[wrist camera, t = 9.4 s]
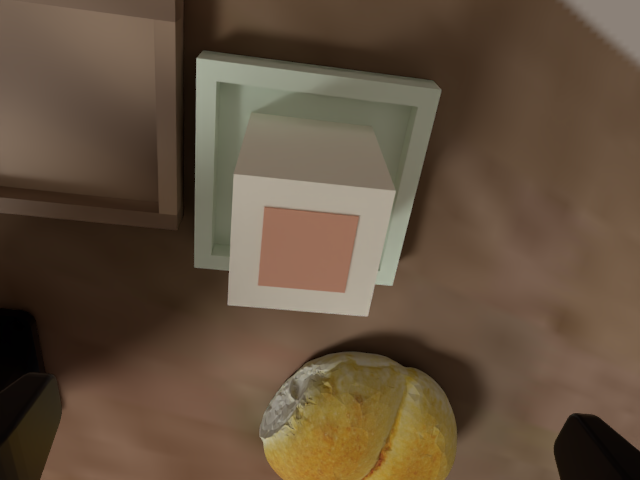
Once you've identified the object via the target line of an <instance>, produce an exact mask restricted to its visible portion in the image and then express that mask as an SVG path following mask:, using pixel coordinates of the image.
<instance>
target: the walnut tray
mask: <svg viewBox="0 0 640 480" xmlns="http://www.w3.org/2000/svg"><path fill="white" fill-rule="evenodd" d="M0 213H5V214H16V215H26V216H36V217H46V218H56V219H66V220H77V221H87V222H97V223H107V224H117V225H127V226H137V227H148V228H158V229H168V230H177V229H178V227H179V225H180V222H181V220H182V218H183V215H184V0H0Z"/></svg>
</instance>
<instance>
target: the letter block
mask: <svg viewBox="0 0 640 480" xmlns="http://www.w3.org/2000/svg"><path fill="white" fill-rule="evenodd" d="M395 193H396V190H395V187H394V184H393V182H392V179H391V176H390V174H389V171H388V168H387V165H386V163H385V160H384V157H383V155H382V152H381V149H380V146H379V144H378V141H377V138H376V136H375V133H374V130H373V127H372V126H365V125H356V124H348V123H339V122H330V121H322V120H313V119H305V118H296V117H287V116H279V115H270V114H262V113H253V112H251V114H250V118H249V122H248V125H247V129H246V132H245V136H244V139H243V143H242V146H241V150H240V153H239V157H238V160H237V164H236V167H235V171H234V176H233V197H232V219H231V240H230V262H229V284H228V305H232V306H245V307H257V308H269V309H281V310H294V311H306V312H318V313H330V314H343V315H355V316H367V317H368V313H369V309H370V304H371V300H372V295H373V291H374V286H375V282H376V278H377V273H378V269H379V264H380V260H381V255H382V251H383V246H384V242H385V237H386V233H387V228H388V224H389V219H390V215H391V211H392V206H393V202H394V197H395Z"/></svg>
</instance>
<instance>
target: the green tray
mask: <svg viewBox="0 0 640 480" xmlns="http://www.w3.org/2000/svg"><path fill="white" fill-rule="evenodd" d="M441 91H442V90H441V89H440V88H439V86H438V85H437V84H436V83H435V82H434V81H433V80H426V79H419V78H411V77H403V76H396V75H388V74H381V73H373V72H365V71H358V70H350V69H343V68H335V67H327V66H320V65H312V64H305V63H297V62H289V61H282V60H274V59H267V58H259V57H251V56H244V55H236V54H229V53H221V52H213V51H206V50H203V51H202V52H201V53H200V54H199V56H198V57H197V58H196V140H195V232H194V268H204V269H215V270H226V271H229V262H230V240H231V219H232V197H233V176H234V171H235V167H236V164H237V160H238V157H239V153H240V150H241V146H242V143H243V139H244V136H245V132H246V129H247V125H248V122H249V118H250V114H251V112H253V113H262V114H270V115H279V116H287V117H296V118H305V119H313V120H322V121H330V122H339V123H348V124H356V125H365V126H372V127H373V130H374V133H375V136H376V138H377V141H378V144H379V146H380V149H381V152H382V155H383V157H384V160H385V163H386V165H387V168H388V171H389V174H390V176H391V179H392V182H393V184H394V187H395V190H396V193H395V197H394V202H393V206H392V211H391V215H390V219H389V224H388V228H387V233H386V237H385V242H384V246H383V251H382V255H381V260H380V264H379V269H378V273H377V278H376V282H375V284H378V285H389V286H392V285H393V281H394V278H395V274H396V270H397V266H398V262H399V258H400V254H401V250H402V246H403V242H404V238H405V234H406V230H407V226H408V222H409V218H410V214H411V210H412V206H413V202H414V198H415V194H416V190H417V186H418V182H419V178H420V174H421V170H422V166H423V162H424V158H425V154H426V150H427V146H428V142H429V138H430V135H431V131H432V127H433V123H434V119H435V115H436V111H437V107H438V103H439V99H440V95H441Z"/></svg>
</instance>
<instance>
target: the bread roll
mask: <svg viewBox="0 0 640 480" xmlns="http://www.w3.org/2000/svg"><path fill="white" fill-rule="evenodd" d="M260 437H261V439H262V440H263V444H264V452H265V455H266V458H267V460H268V462H269V464H270V465H271V467H272V468H273V469H274V471H275V472H276V473H277V474H278V475H279V476H280V477H281V478H282V479H284V480H445V478H446V477H447V476H448V474H449V472H450V470H451V468H452V466H453V463H454V460H455V456H456V446H457V427H456V421H455V416H454V414H453V410H452V408H451V405H450V403H449V400H448V398H447V396H446V394H445V392H444V391H443V390H442V388H441V387H440V386H439V385H438V384H437V382H435V381H434V380H433V379H432V378H431V377H430V376H428V375H427V374H426V373H424V372H422V371H420V370H418V369H416V368H412V367H404V366H402V365H400V364H399V363H397V362H395V361H393V360H392V359H390V358H388V357H386V356H382V355H378V354H371V353H363V352H355V351H353V352H340V353H333V354H327V355H325V356H322V357H320V358H317V359H314V360H311V361H309V362H307V363H306V364H304V365H303V366H302V367H301V368H300V369H299V370H298V371H297V372H296V373H295V374H294V375H293V376H291V377H290V378H289V379H287V380H286V382H285V383H284V384H283V385H282V387H281V388H280V389H279V391H278V392H277V393H276V395H275V396H274V398H273V399H272V400H271V402H270V404H269V406H268V407H267V409H266V410H265V413H264V415H263V419H262V423H261V424H260Z"/></svg>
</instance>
